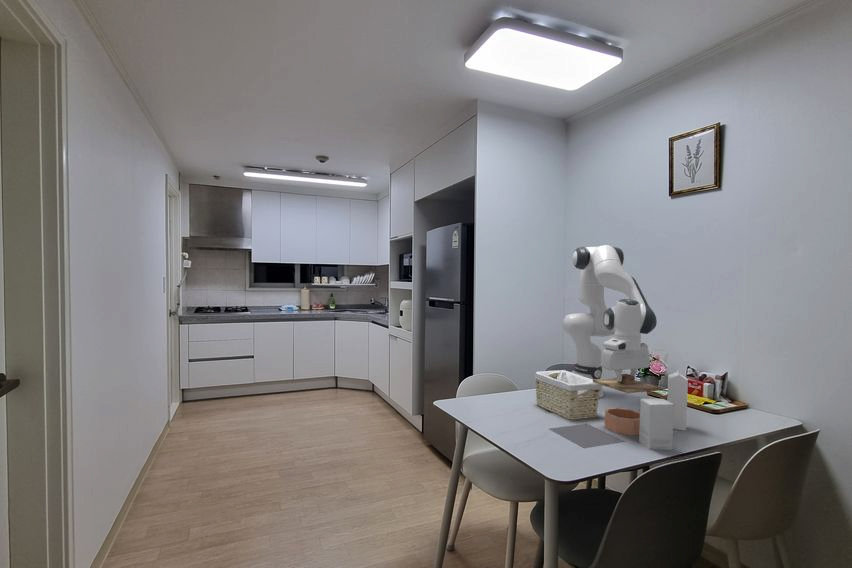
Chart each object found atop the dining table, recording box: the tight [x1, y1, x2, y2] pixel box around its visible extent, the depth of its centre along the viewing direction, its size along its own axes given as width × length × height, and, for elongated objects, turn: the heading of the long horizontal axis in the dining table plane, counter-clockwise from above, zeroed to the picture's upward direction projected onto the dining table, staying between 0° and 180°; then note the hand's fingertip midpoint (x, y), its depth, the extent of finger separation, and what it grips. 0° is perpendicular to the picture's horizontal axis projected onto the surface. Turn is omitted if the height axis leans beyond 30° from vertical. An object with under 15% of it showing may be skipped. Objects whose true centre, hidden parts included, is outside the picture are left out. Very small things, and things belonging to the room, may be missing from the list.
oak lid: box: [593, 373, 662, 394], centre depth 154 cm, size 16×16×4 cm
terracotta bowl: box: [604, 407, 640, 436], centre depth 154 cm, size 13×13×6 cm
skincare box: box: [638, 398, 674, 450], centre depth 138 cm, size 8×7×16 cm
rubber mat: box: [548, 423, 626, 449], centre depth 146 cm, size 18×18×1 cm
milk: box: [666, 368, 689, 432], centre depth 159 cm, size 6×6×22 cm
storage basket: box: [534, 369, 601, 420], centre depth 174 cm, size 24×16×15 cm
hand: (625, 380), depth 154 cm, fingers closed on oak lid, 4 cm apart
